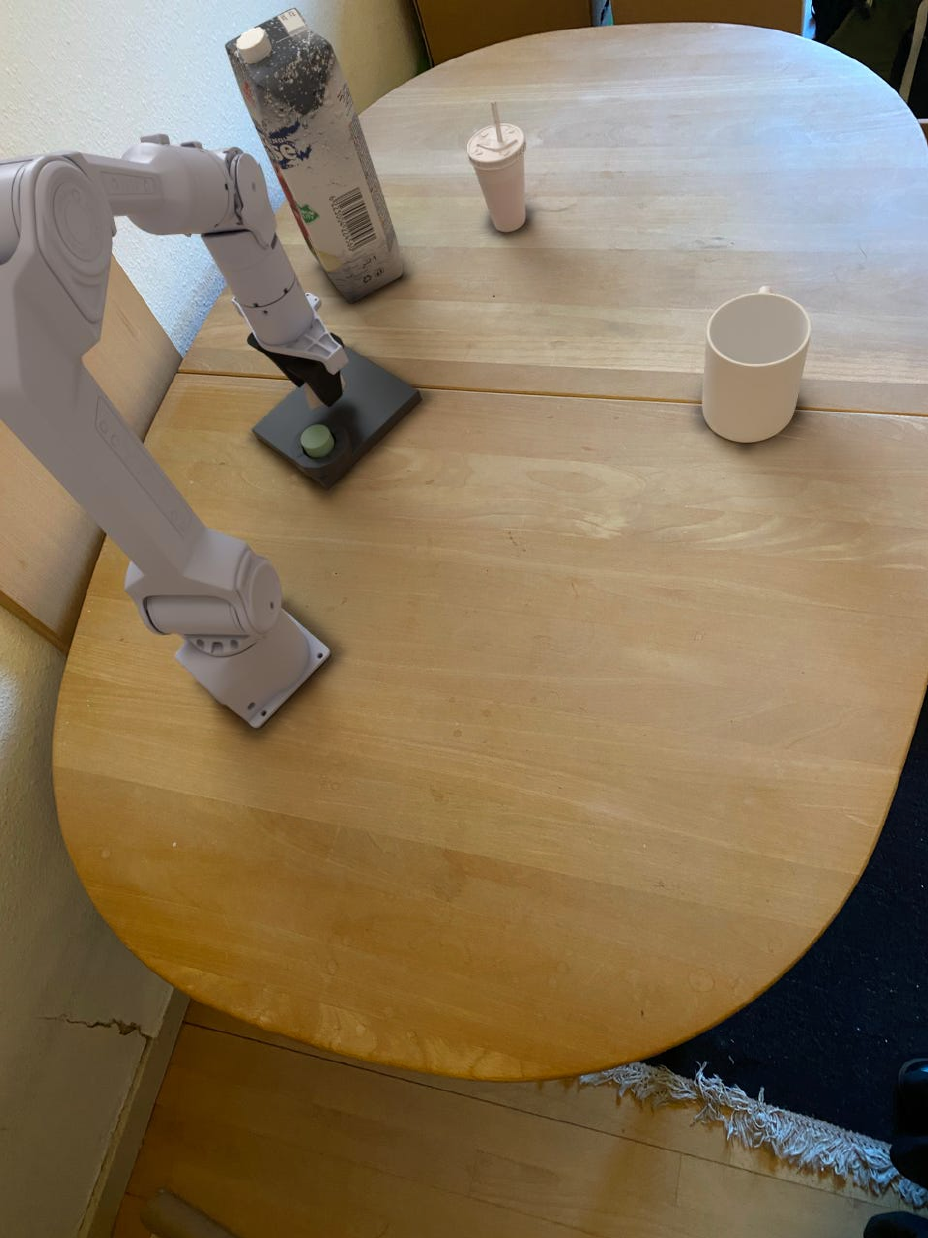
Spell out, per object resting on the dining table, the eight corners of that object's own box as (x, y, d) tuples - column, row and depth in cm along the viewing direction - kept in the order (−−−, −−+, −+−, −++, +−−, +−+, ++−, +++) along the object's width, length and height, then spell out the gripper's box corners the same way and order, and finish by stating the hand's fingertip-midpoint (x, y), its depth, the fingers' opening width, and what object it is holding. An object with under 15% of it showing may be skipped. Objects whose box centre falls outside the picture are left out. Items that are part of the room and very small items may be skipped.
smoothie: (532, 239, 94) (513, 119, 82) (477, 241, 96) (451, 124, 84) (541, 200, 97) (523, 78, 85) (487, 203, 99) (463, 84, 86)
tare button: (319, 463, 82) (313, 453, 81) (300, 449, 84) (294, 439, 82) (340, 442, 83) (335, 432, 82) (321, 429, 84) (315, 419, 83)
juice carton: (377, 230, 101) (291, -19, 77) (414, 276, 96) (335, 25, 72) (313, 265, 100) (206, 25, 77) (347, 314, 95) (245, 73, 72)
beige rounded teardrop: (354, 383, 87) (346, 366, 84) (334, 420, 85) (325, 404, 83) (319, 377, 88) (310, 360, 86) (298, 413, 86) (289, 397, 84)
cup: (694, 441, 77) (699, 363, 69) (713, 344, 82) (720, 259, 73) (789, 449, 75) (806, 369, 66) (803, 348, 80) (821, 261, 71)
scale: (327, 495, 84) (316, 477, 81) (253, 440, 89) (241, 421, 87) (425, 400, 87) (418, 380, 84) (347, 353, 92) (338, 332, 90)
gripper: (349, 285, 71) (394, 394, 83) (248, 228, 77) (302, 337, 89) (290, 338, 69) (344, 441, 81) (192, 276, 76) (255, 380, 88)
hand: (319, 390), depth 85 cm, fingers closed on beige rounded teardrop, 4 cm apart
